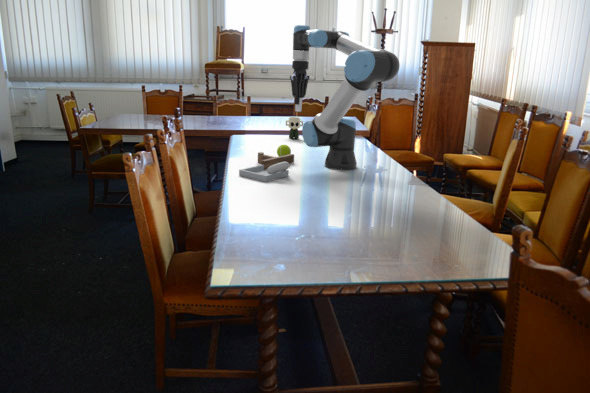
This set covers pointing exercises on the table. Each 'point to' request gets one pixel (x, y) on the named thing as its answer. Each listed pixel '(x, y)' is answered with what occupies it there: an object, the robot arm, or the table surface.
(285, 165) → the donut
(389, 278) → the table surface
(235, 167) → the table surface
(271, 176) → the tray
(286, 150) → the tennis ball
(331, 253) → the table surface
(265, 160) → the t rack
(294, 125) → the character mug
